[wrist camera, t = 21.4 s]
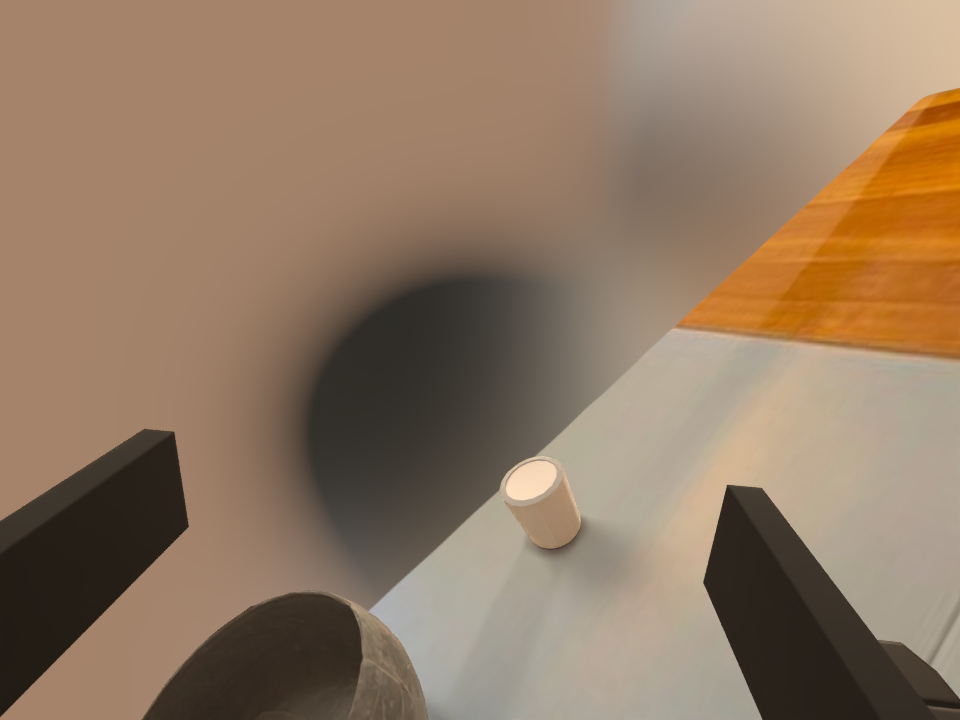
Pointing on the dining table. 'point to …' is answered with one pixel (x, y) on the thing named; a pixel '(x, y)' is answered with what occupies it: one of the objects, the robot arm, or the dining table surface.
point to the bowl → (296, 667)
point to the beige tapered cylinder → (542, 501)
